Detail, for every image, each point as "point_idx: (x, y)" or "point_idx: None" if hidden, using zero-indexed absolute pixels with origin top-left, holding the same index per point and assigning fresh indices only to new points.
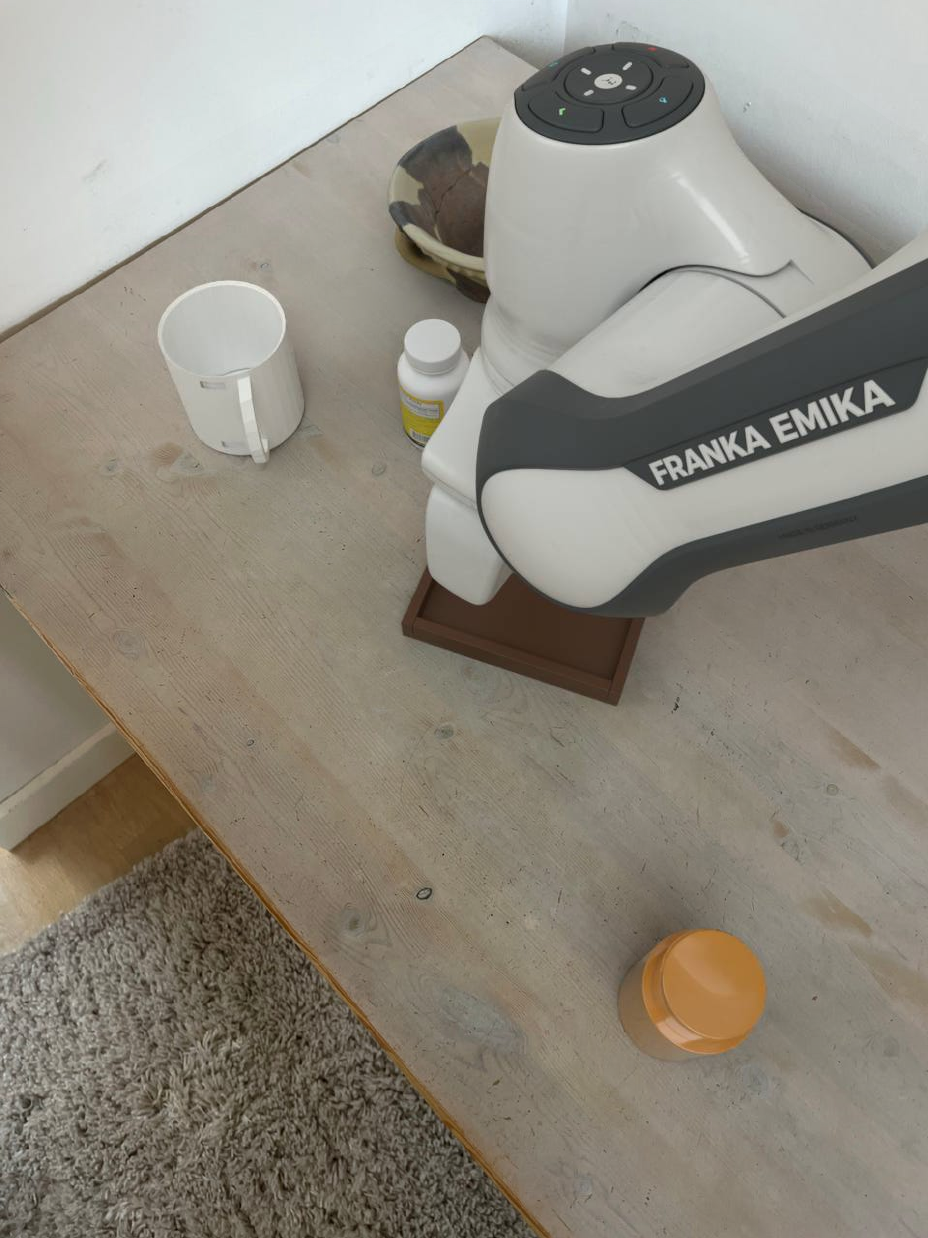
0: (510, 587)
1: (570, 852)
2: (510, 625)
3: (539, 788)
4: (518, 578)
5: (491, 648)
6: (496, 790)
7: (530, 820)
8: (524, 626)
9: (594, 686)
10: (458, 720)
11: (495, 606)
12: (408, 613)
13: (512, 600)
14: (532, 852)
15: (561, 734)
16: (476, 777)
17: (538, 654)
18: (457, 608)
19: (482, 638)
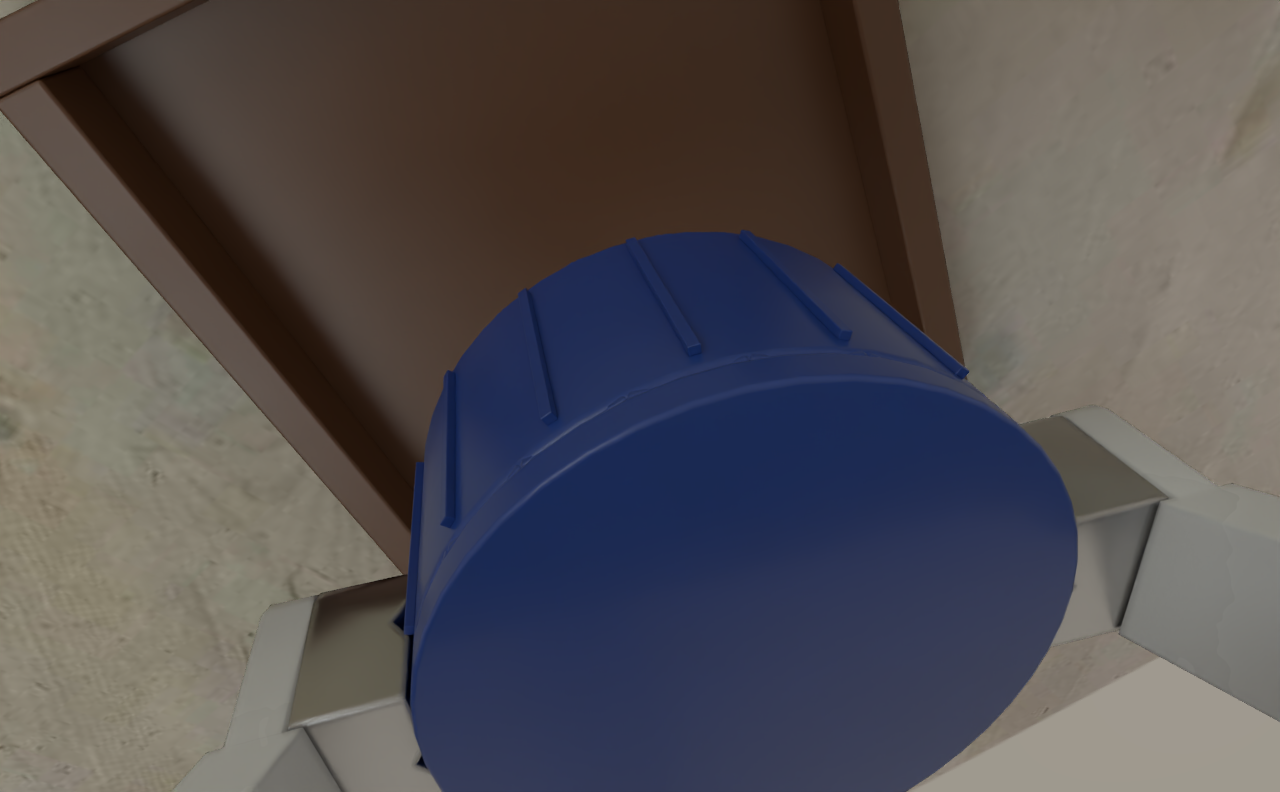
0: (513, 207)
1: (145, 763)
2: (409, 312)
3: (169, 650)
4: (560, 202)
5: (258, 388)
6: (51, 607)
7: (96, 688)
8: (445, 342)
9: None
10: (54, 416)
11: (417, 226)
12: (7, 37)
13: (481, 250)
14: (55, 734)
15: (315, 589)
16: (12, 559)
17: (412, 432)
18: (287, 131)
19: (252, 343)
